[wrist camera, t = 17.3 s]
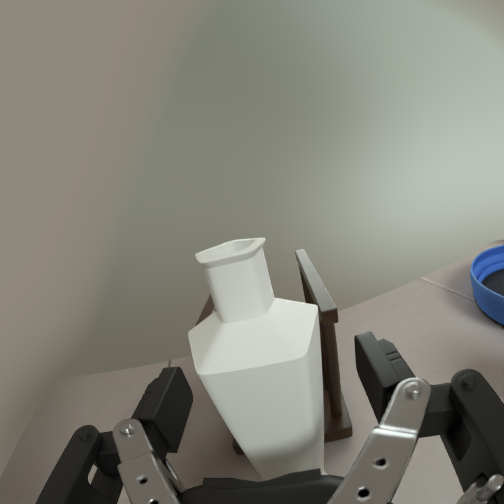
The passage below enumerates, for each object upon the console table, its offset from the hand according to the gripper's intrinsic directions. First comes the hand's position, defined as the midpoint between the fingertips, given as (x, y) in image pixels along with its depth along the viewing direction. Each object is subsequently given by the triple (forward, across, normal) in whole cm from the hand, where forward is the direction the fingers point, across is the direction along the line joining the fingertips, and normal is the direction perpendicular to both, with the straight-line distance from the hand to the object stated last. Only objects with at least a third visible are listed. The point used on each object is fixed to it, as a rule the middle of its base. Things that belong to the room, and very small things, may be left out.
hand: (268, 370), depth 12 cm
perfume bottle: (-2, 0, +9) cm, 9 cm away
